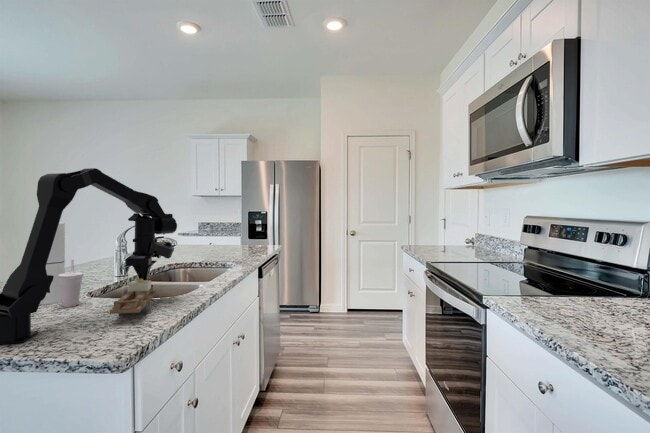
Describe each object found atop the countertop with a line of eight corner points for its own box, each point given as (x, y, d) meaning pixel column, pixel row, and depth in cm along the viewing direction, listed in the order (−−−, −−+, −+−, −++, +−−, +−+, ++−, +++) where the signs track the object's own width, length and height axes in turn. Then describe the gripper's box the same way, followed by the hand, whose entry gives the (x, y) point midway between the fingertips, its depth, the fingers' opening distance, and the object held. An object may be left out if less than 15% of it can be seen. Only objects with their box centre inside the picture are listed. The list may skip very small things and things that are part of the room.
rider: (147, 296, 103) (147, 280, 103) (128, 296, 102) (128, 280, 102) (150, 292, 107) (151, 277, 107) (132, 293, 106) (132, 278, 106)
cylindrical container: (31, 305, 106) (31, 223, 105) (43, 298, 112) (43, 222, 112) (58, 303, 107) (58, 223, 107) (68, 297, 114) (68, 222, 114)
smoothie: (69, 309, 102) (70, 262, 102) (52, 307, 104) (52, 261, 103) (88, 303, 109) (88, 259, 108) (71, 301, 110) (71, 258, 110)
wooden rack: (139, 323, 91) (139, 301, 91) (109, 325, 89) (109, 302, 89) (156, 303, 110) (156, 284, 110) (131, 304, 109) (132, 285, 108)
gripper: (166, 237, 102) (166, 289, 103) (176, 233, 120) (176, 277, 121) (125, 237, 100) (124, 291, 100) (141, 233, 118) (141, 278, 118)
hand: (144, 284), depth 110 cm, fingers closed
